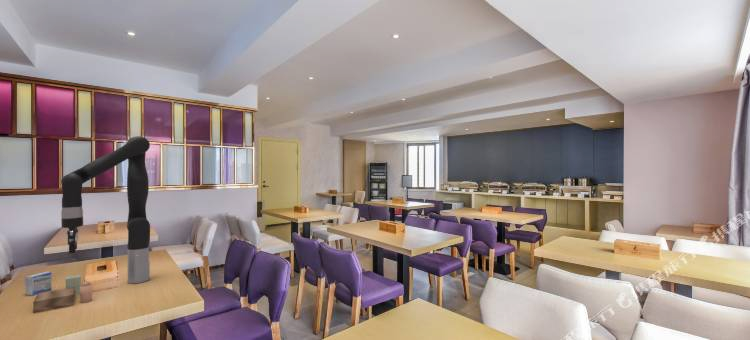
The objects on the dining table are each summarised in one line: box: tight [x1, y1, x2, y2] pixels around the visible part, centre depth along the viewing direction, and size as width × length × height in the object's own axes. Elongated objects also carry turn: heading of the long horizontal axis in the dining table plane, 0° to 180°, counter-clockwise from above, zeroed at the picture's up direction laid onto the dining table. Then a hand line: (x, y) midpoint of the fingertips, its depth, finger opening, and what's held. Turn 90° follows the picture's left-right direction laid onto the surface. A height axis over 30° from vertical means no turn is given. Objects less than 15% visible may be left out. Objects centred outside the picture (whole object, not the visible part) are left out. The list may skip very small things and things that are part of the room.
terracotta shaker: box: [79, 280, 93, 304], centre depth 147 cm, size 4×4×9 cm
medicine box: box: [24, 271, 52, 296], centre depth 157 cm, size 8×4×9 cm, turn 168°
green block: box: [65, 274, 82, 296], centre depth 155 cm, size 5×5×8 cm
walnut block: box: [32, 287, 76, 314], centre depth 143 cm, size 12×12×5 cm
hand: (73, 251), depth 155 cm, fingers open, 8 cm apart
